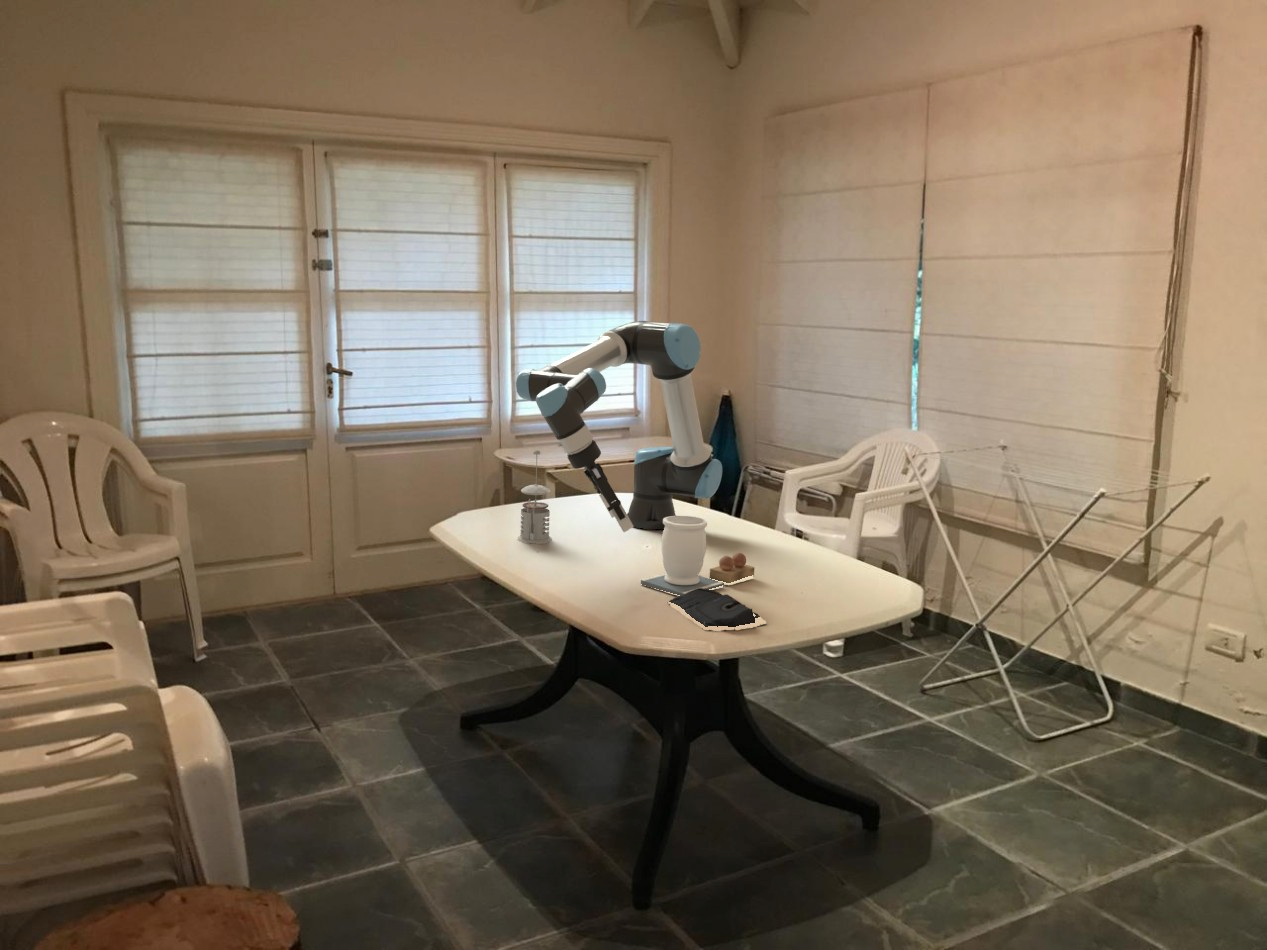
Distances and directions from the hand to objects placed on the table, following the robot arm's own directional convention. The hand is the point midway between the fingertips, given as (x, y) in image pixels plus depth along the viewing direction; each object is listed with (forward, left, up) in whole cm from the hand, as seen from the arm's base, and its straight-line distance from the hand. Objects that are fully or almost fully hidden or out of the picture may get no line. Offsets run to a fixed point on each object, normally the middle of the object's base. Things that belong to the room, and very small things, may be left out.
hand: (622, 522), depth 243 cm
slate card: (-8, +13, -14) cm, 21 cm away
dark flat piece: (+2, +31, -15) cm, 35 cm away
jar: (-8, +13, -13) cm, 20 cm away
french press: (-8, -41, -15) cm, 44 cm away
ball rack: (-22, +17, -14) cm, 31 cm away
